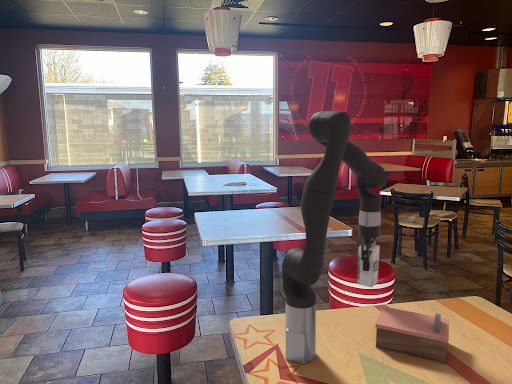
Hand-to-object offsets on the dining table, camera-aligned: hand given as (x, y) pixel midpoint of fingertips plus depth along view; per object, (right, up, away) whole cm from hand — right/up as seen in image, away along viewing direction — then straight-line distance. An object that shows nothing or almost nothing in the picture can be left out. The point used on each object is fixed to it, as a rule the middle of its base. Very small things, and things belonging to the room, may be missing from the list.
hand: (367, 267), depth 139 cm
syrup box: (0, -6, +1) cm, 6 cm away
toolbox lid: (+9, -15, -17) cm, 25 cm away
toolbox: (+9, -22, -16) cm, 29 cm away
